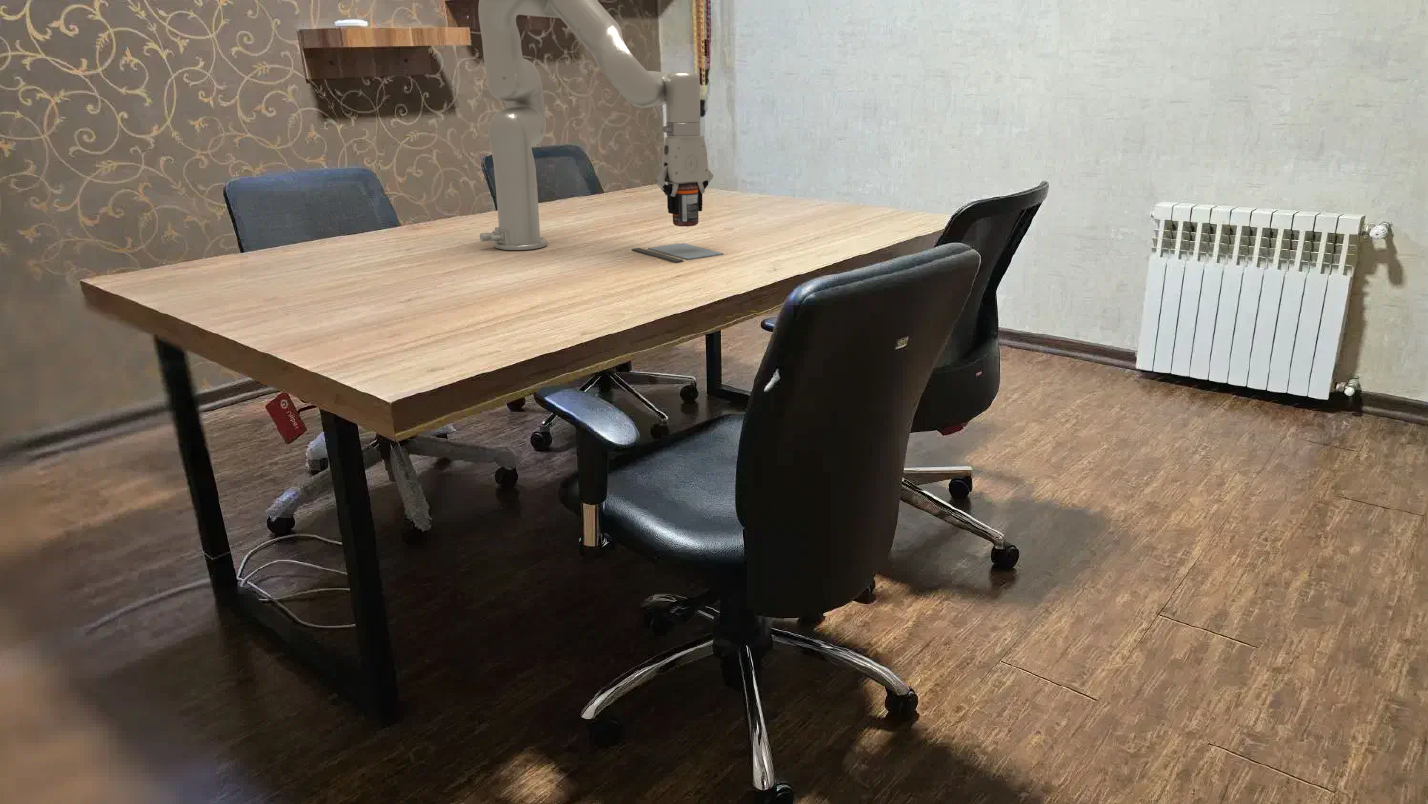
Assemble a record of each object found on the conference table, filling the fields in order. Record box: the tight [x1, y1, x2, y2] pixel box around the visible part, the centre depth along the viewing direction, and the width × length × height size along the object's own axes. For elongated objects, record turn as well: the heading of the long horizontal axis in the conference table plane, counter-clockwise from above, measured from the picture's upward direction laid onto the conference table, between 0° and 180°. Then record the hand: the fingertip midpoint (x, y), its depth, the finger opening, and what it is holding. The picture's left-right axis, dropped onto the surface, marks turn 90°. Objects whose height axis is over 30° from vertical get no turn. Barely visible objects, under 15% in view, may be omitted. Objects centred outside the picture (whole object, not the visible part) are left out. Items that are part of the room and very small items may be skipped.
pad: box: [647, 242, 724, 261], centre depth 224 cm, size 10×16×1 cm, turn 37°
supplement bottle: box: [672, 183, 699, 228], centre depth 220 cm, size 6×6×11 cm
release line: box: [631, 247, 684, 264], centre depth 220 cm, size 2×18×1 cm, turn 37°
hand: (685, 211), depth 221 cm, fingers closed on supplement bottle, 6 cm apart
